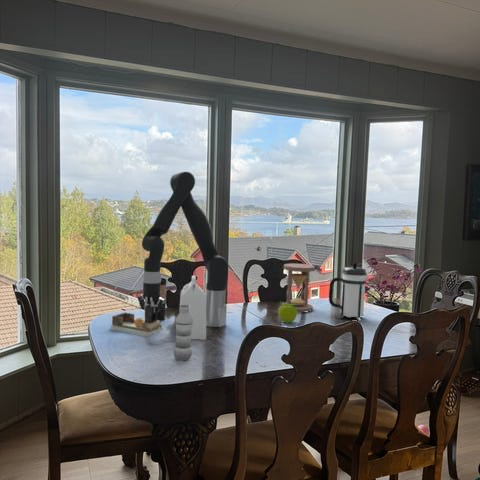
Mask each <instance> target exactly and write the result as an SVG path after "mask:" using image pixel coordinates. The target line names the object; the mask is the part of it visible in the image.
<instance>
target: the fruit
mask: <svg viewBox="0 0 480 480" xmlns="http://www.w3.org/2000/svg"><path fill="white" fill-rule="evenodd" d="M286 303H287V302H282V301H280V302H279V304H281V305H280V306H279V308H278V317H279V319H280V320H281V321H282V322H283V321H284V323H285V322H291V323H292V322H294V321H295V320H296V319H297V315H298V313H297V309H296V308H295V306H294V305H297V304H291V305H290V304H286ZM282 304H284V305H282Z"/></svg>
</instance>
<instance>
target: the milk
mask: <svg viewBox="0 0 480 480" xmlns="http://www.w3.org/2000/svg"><path fill="white" fill-rule="evenodd" d="M196 280H197V278H196V275H191V281H190V282H189V283H187V284H185V285H184V286H183V288H182V289H181V290H180V295H179V296H180V299H179V307H180V306H181V305H188V306H190V311H189V313H190V315H191V316H192V318H193V325H192V331H191V339H200V340H207V326H206V292H205V291H204V290H203V288H202V287H200V285H199V284H197V281H196ZM178 311H179V310H178ZM179 313H180V311H179ZM179 313H178V314H179Z"/></svg>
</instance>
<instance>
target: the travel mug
mask: <svg viewBox="0 0 480 480" xmlns="http://www.w3.org/2000/svg"><path fill="white" fill-rule="evenodd" d="M160 297H161V298H162V299H165V300H166V301H165V303H164V305H163V308H162V310H161V311H159V312H158V313H157V320H159V321H160V322H162V321H163V322H164V321H165V319H166V306H167V278H164V277H161V285H160ZM158 304H159V301H158ZM154 305H155V304H154Z"/></svg>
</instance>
